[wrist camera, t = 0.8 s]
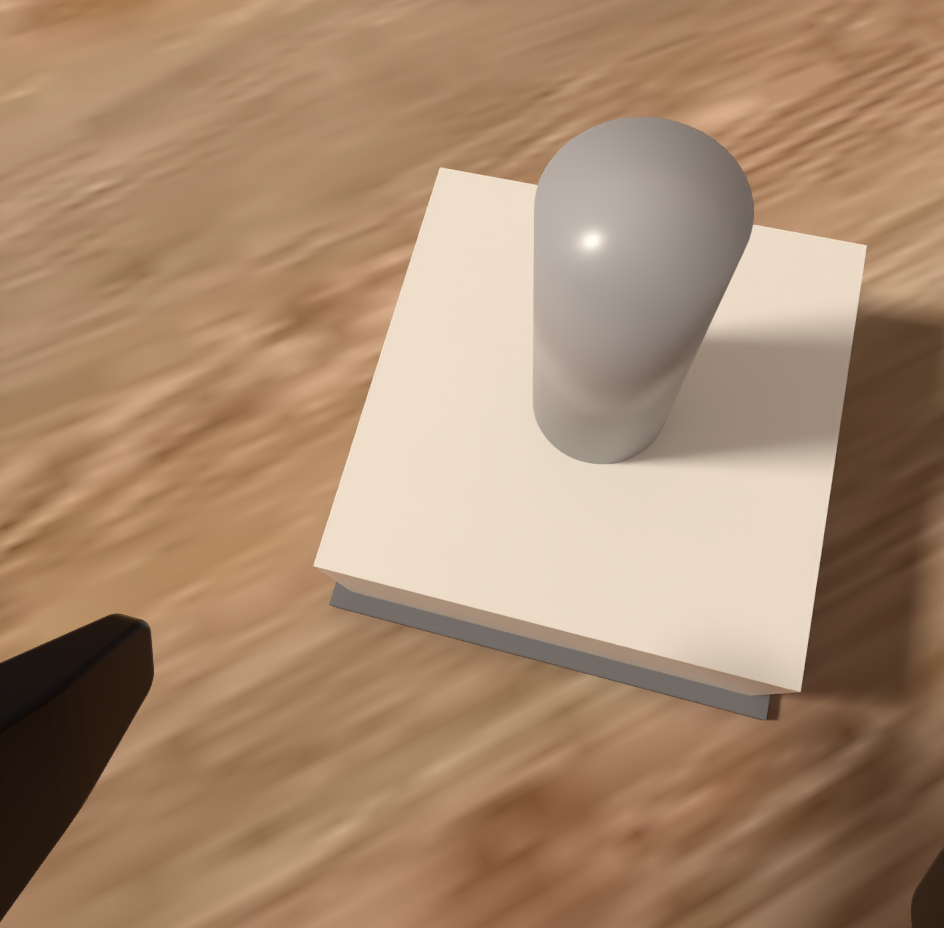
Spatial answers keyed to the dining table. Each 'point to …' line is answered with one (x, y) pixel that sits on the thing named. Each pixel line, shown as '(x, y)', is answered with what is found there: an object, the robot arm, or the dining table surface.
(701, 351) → the cream bowl cover
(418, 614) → the charcoal rubber mat
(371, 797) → the dining table surface
